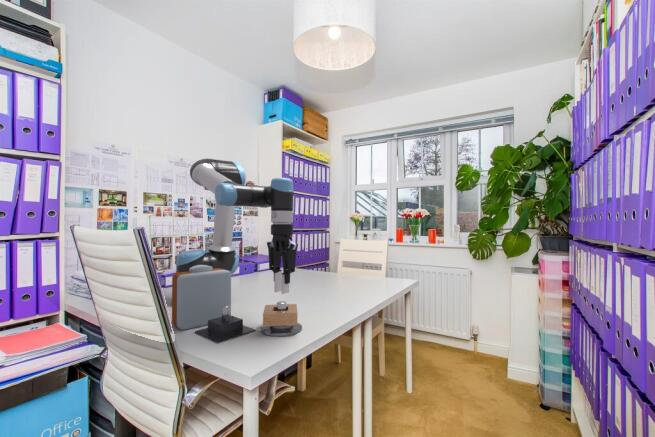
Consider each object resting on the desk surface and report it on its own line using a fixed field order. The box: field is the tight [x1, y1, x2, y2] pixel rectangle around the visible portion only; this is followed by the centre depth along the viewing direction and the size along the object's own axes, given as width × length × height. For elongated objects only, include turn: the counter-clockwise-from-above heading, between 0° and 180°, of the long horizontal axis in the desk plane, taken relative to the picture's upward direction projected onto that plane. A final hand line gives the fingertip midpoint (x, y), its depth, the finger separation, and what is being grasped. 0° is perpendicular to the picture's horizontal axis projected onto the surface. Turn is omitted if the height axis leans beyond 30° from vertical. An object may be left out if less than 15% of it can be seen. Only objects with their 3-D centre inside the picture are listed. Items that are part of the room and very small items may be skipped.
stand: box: [194, 305, 257, 344], centre depth 104 cm, size 14×14×8 cm
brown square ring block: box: [262, 303, 298, 327], centre depth 106 cm, size 11×11×4 cm
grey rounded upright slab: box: [171, 265, 232, 331], centre depth 113 cm, size 18×9×21 cm, turn 134°
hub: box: [260, 300, 303, 338], centre depth 107 cm, size 14×14×9 cm
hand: (281, 292), depth 107 cm, fingers open, 3 cm apart
